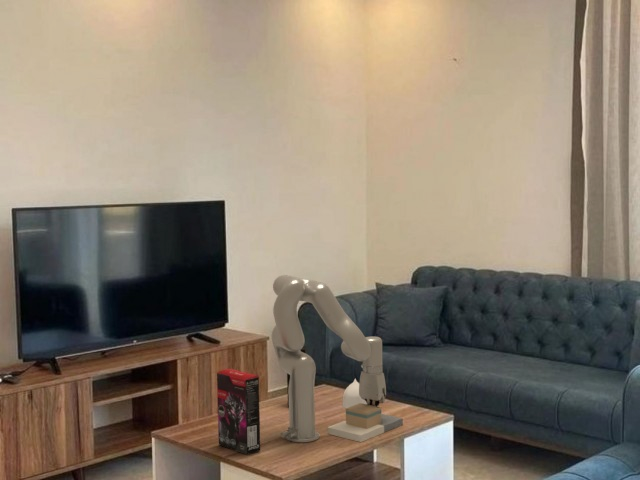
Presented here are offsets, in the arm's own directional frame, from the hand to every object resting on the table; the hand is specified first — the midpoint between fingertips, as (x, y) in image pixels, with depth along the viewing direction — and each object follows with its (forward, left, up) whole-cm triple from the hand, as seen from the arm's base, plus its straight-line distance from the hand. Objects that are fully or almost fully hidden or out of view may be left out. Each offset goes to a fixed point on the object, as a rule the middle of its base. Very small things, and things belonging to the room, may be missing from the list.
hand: (373, 416), depth 306 cm
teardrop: (+17, +22, -4) cm, 28 cm away
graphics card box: (-49, +22, -4) cm, 54 cm away
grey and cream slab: (-5, 0, -4) cm, 6 cm away
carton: (-6, 0, -1) cm, 6 cm away
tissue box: (+3, +42, -4) cm, 43 cm away
